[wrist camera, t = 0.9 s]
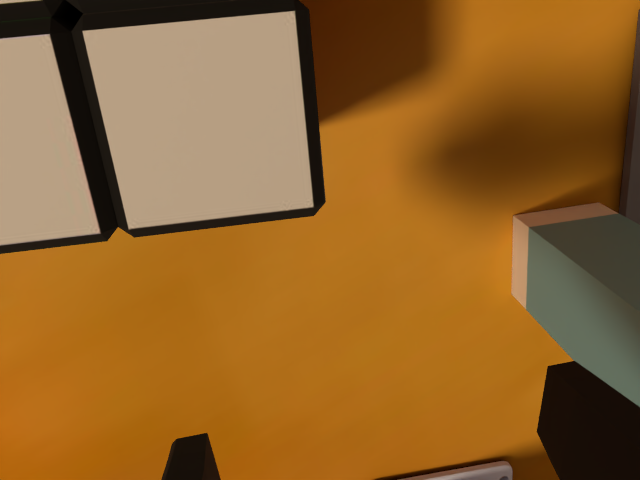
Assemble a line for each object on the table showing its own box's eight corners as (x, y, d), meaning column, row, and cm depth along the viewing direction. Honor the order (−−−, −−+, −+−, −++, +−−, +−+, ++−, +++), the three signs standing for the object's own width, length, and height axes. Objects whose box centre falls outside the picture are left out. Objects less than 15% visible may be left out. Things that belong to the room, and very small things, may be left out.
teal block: (591, 280, 27) (770, 420, 18) (511, 293, 27) (650, 442, 17) (598, 202, 25) (797, 310, 16) (513, 215, 25) (666, 332, 16)
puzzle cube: (266, -160, 19) (282, -325, 10) (297, 135, 23) (330, 218, 14) (-43, -138, 18) (-343, -291, 9) (43, 163, 22) (-105, 273, 13)
